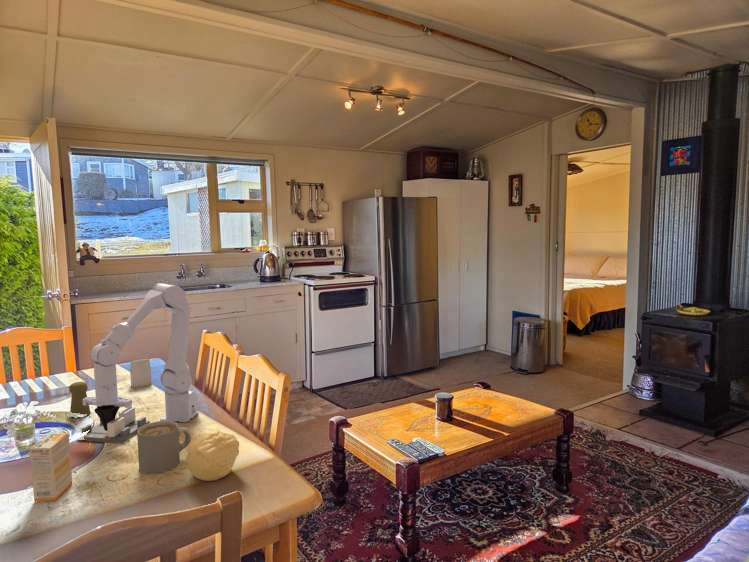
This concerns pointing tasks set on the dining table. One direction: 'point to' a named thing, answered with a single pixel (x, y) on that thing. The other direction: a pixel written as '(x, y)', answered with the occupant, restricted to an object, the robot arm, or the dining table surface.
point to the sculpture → (212, 455)
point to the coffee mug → (160, 446)
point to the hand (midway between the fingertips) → (108, 429)
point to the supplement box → (51, 466)
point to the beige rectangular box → (140, 373)
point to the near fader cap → (115, 426)
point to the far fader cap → (128, 415)
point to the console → (102, 436)
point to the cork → (79, 398)
